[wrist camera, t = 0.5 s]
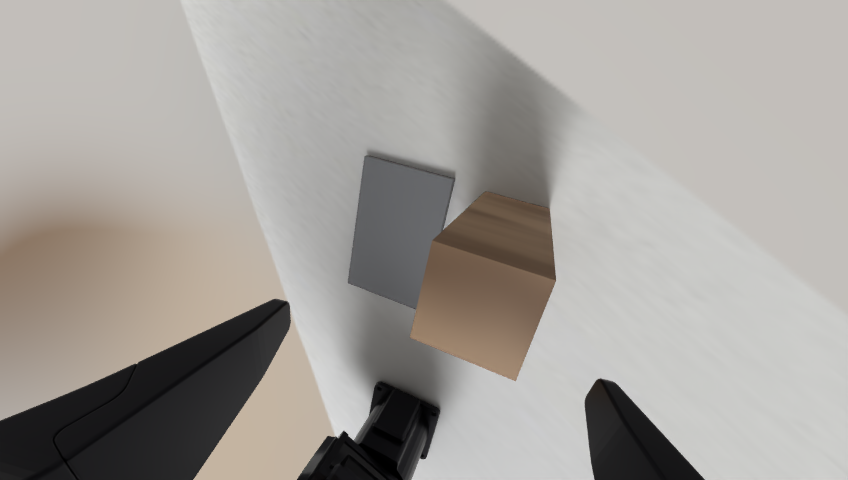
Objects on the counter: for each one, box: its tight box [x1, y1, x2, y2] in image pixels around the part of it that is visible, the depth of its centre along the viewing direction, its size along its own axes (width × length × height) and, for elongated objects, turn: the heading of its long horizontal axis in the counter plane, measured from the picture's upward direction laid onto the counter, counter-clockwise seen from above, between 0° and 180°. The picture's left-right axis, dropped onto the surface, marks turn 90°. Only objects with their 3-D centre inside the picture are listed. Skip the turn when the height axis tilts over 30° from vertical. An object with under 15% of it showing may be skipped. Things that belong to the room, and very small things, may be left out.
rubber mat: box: [348, 156, 455, 309], centre depth 26 cm, size 11×7×1 cm, turn 169°
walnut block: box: [410, 191, 556, 381], centre depth 17 cm, size 4×4×12 cm
